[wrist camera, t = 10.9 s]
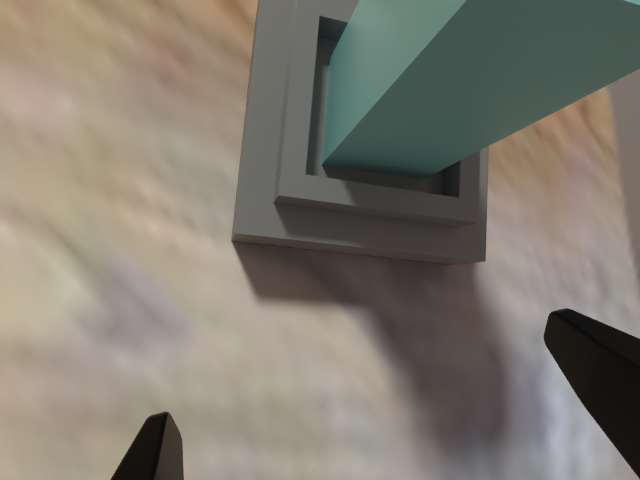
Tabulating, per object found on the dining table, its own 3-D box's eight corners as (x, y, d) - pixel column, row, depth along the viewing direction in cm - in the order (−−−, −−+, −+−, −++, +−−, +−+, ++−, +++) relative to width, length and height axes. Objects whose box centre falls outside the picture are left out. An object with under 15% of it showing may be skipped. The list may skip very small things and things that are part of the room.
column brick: (422, 179, 20) (718, 28, 8) (321, 164, 19) (498, -37, 7) (427, 80, 20) (705, -189, 9) (329, 60, 19) (503, -282, 8)
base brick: (451, 264, 23) (506, 259, 19) (231, 240, 20) (235, 228, 16) (459, 62, 25) (511, 14, 20) (256, 14, 22) (266, -54, 17)
